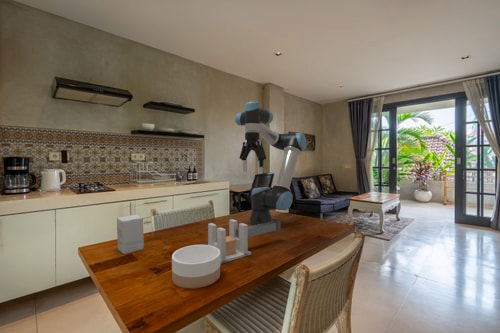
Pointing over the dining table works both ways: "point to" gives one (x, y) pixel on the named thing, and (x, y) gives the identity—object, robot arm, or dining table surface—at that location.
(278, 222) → the shaft
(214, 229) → the bracket
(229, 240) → the block
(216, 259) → the bowl
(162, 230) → the dining table surface
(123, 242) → the supplement box
